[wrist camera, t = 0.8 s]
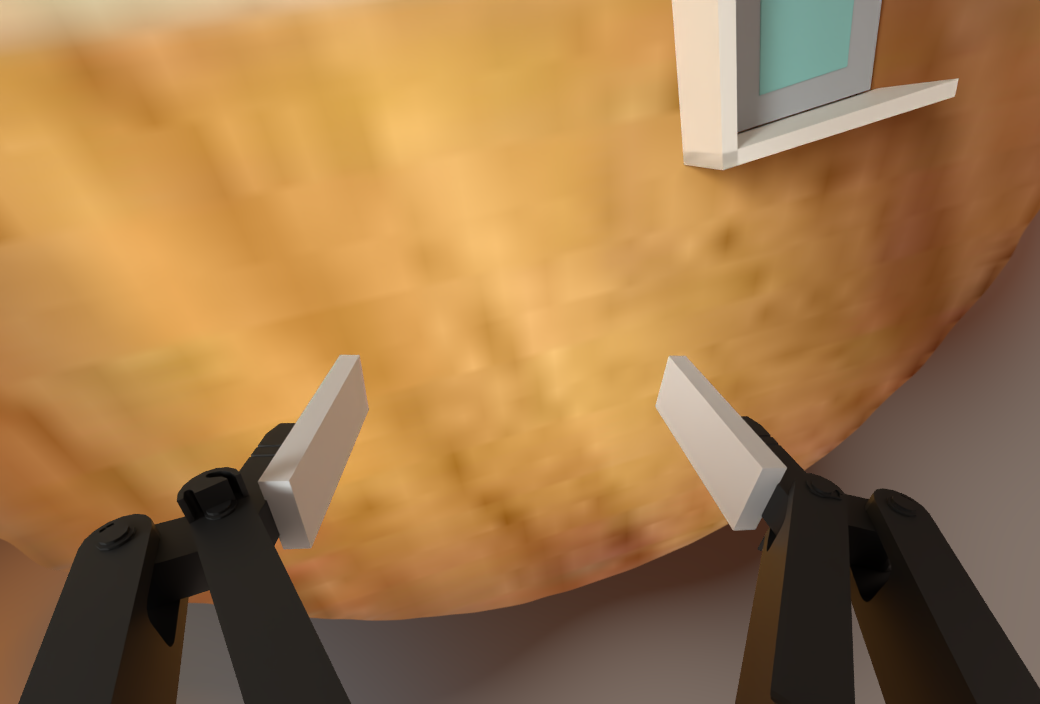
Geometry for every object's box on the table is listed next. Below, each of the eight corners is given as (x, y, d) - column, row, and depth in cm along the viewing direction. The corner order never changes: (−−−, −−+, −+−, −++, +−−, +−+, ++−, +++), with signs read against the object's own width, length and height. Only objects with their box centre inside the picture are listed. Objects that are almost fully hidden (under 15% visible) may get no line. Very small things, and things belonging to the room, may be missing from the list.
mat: (689, -100, 29) (693, -105, 28) (897, -177, 28) (907, -184, 27) (701, 142, 37) (705, 142, 36) (864, 90, 36) (871, 89, 35)
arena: (664, -95, 29) (713, -157, 23) (915, -187, 28) (1037, -279, 22) (684, 164, 38) (722, 170, 31) (875, 103, 36) (954, 96, 30)
